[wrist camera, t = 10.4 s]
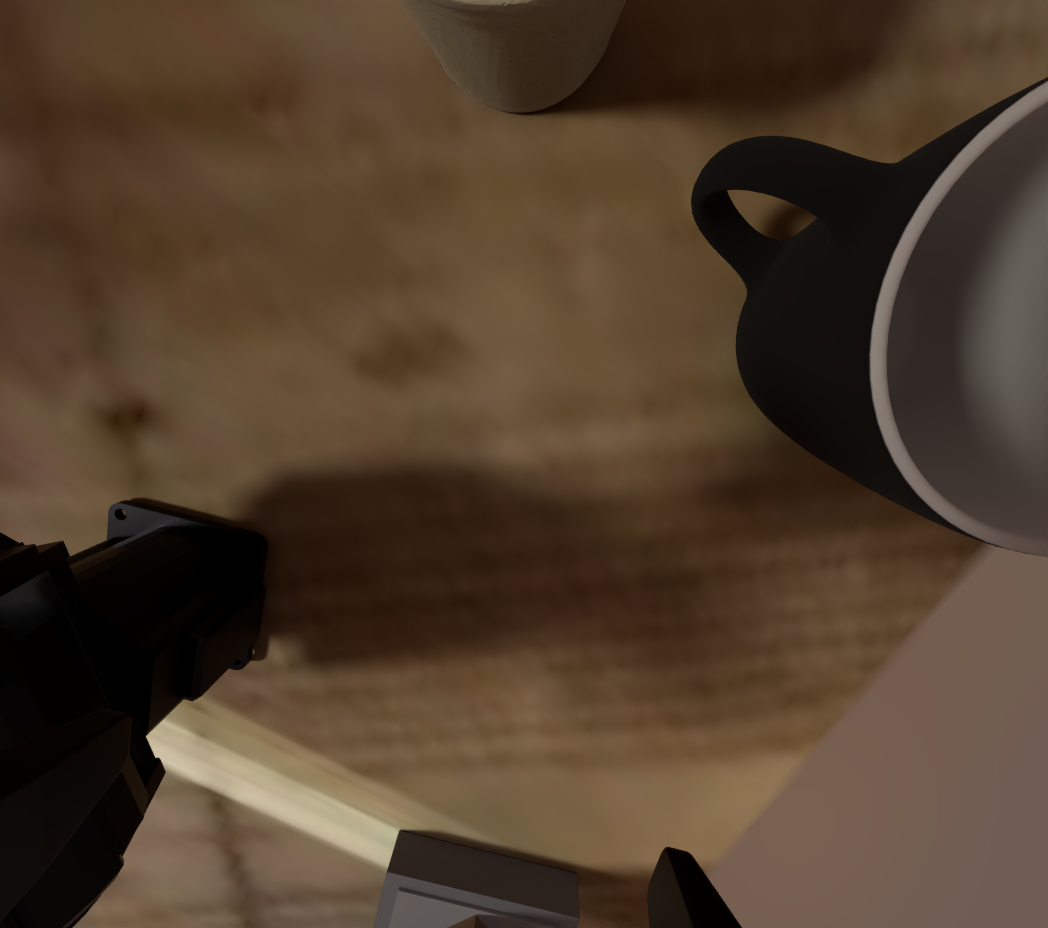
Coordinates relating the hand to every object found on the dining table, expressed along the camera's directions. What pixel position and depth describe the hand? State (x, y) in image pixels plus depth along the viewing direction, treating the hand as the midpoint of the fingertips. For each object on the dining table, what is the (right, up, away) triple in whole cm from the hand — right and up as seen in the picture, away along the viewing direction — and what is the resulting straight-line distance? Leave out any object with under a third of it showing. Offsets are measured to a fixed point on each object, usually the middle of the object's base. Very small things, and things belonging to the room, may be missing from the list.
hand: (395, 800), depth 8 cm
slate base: (-1, -18, +18) cm, 25 cm away
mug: (+12, +11, +10) cm, 19 cm away
